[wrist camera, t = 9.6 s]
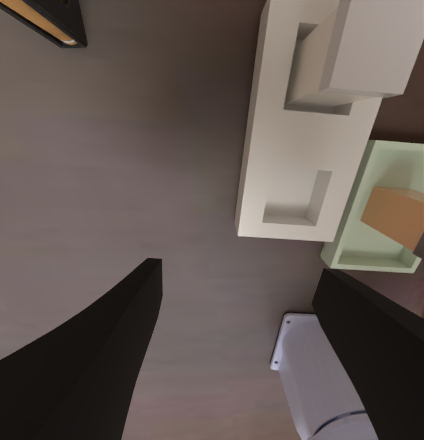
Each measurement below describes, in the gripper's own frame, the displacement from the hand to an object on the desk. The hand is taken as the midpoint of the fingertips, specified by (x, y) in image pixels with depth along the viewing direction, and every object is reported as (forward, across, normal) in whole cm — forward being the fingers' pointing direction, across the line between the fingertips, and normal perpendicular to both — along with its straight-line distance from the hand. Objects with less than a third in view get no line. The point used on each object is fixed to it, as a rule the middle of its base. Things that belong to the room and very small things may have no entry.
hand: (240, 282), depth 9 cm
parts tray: (+10, -14, -1) cm, 17 cm away
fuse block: (+10, -5, -6) cm, 13 cm away
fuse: (+10, -5, -10) cm, 15 cm away
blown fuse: (+10, -14, -1) cm, 17 cm away
